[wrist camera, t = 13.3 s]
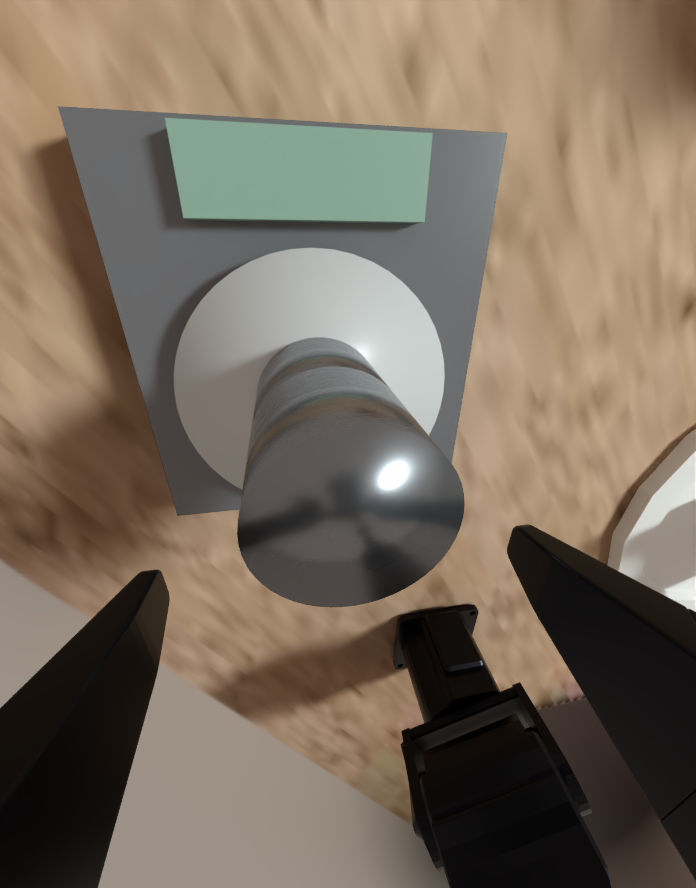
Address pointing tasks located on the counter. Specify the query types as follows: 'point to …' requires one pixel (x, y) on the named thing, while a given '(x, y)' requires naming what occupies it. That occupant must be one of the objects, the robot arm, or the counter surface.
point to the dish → (662, 528)
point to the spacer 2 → (343, 492)
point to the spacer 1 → (308, 363)
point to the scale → (283, 265)
